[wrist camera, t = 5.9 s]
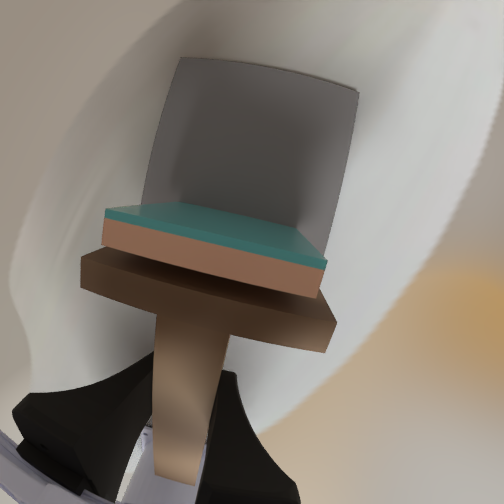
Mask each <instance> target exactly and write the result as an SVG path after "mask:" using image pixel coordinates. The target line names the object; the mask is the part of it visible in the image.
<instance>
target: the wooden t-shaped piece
mask: <svg viewBox="0 0 504 504" xmlns="http://www.w3.org/2000/svg"><path fill="white" fill-rule="evenodd" d="M81 288H83V289H86V290H88V291H91V292H93V293H96V294H99V295H101V296H104V297H107V298H110V299H112V300H115V301H118V302H121V303H124V304H127V305H130V306H133V307H136V308H139V309H142V310H145V311H148V312H151V313H154V314H157V318H156V330H155V344H154V361H153V389H152V430H153V456H154V472H155V475H157V476H160V477H163V478H166V479H169V480H173V481H176V482H180V483H183V484H187V485H191V486H195V483H196V478H197V474H198V470H199V466H200V462H201V458H202V453H203V449H204V445H205V441H206V437H207V433H208V428H209V422H210V418H211V413H212V409H213V405H214V400H215V396H216V392H217V387H218V383H219V379H220V375H221V371H222V368H223V364H224V360H225V356H226V351H227V347H228V343H229V339H230V335H235V336H239V337H243V338H248V339H252V340H257V341H261V342H266V343H271V344H276V345H281V346H286V347H292V348H297V349H303V350H309V351H315V352H321V353H325V352H326V349H327V347H328V344H329V342H330V340H331V337H332V335H333V332H334V330H335V327H336V325H337V321H336V319H335V317H334V315H333V314H332V312H331V310H330V308H329V306H328V304H327V302H326V300H325V298H324V296H323V294H322V292H321V290H320V289H319V291H318V294H317V297H316V299H315V298H310V297H306V296H301V295H297V294H292V293H287V292H283V291H279V290H274V289H270V288H265V287H261V286H257V285H253V284H248V283H244V282H240V281H236V280H232V279H228V278H223V277H219V276H215V275H211V274H207V273H203V272H199V271H196V270H192V269H188V268H184V267H180V266H176V265H172V264H169V263H165V262H161V261H157V260H154V259H150V258H146V257H143V256H139V255H135V254H132V253H128V252H125V251H121V250H118V249H114V248H111V247H107V246H106V247H104V248H101V249H99V250H96V251H94V252H91V253H89V254H86V255H84V256H82V257H81Z"/></svg>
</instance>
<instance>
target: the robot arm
mask: <svg viewBox="0 0 504 504" xmlns="http://www.w3.org/2000/svg"><path fill="white" fill-rule="evenodd" d="M153 361H154V351H153V352H152V353H150V354H149V355H147V356H146V357H144V358H143V359H141V360H139V361H138V362H136V363H135V364H133V365H131V366H130V367H128V368H126V369H125V370H123V371H121V372H119V373H117V374H115V375H113V376H111V377H109V378H107V379H104V380H102V381H100V382H97V383H94V384H91V385H88V386H84V387H80V388H76V389H72V390H66V391H59V392H48V393H29V394H28V395H27V396H26V397H25V398H24V399H23V400H22V401H21V402H20V403H19V404H18V405H17V406H16V407H15V408H14V409H13V410H12V415H13V419H14V421H15V423H16V425H17V426H18V428H19V430H20V432H21V434H22V436H23V438H24V440H23V441H22V442H21V443H20V444H19V445H17V444H16V443H15V442H14V441H13V440H11V439H10V438H9V437H8V436H7V435H6V434H4V433H3V432H2V431H1V430H0V488H2V489H3V490H4V491H5V492H6V493H7V494H8V495H9V496H11V497H12V498H13V499H14V500H15V501H17V502H18V503H19V504H301V501H300V496H299V492H298V489H297V486H296V483H295V482H294V481H293V480H292V479H290V478H289V477H288V476H287V475H286V474H285V473H284V472H283V471H282V470H281V469H280V467H279V466H278V465H277V464H276V463H275V462H274V461H273V459H272V458H271V457H270V456H269V454H268V453H267V451H266V450H265V449H264V447H263V446H262V444H261V443H260V441H259V439H258V438H257V436H256V434H255V433H254V431H253V429H252V427H251V425H250V423H249V420H248V418H247V416H246V413H245V410H244V408H243V405H242V401H241V398H240V394H239V390H238V385H237V375H236V374H235V373H234V372H230V371H225V370H222V371H221V375H220V379H219V383H218V387H217V392H216V396H215V400H214V405H213V409H212V413H211V418H210V422H209V429H208V437H207V444H205V445H204V449H203V453H202V458H201V462H200V466H199V470H198V474H197V478H196V483H195V486H191V485H187V484H183V483H180V482H176V481H173V480H169V479H166V478H163V477H160V476H157V475H155V472H154V456H153V430H152V428H150V427H147V426H145V425H146V423H147V422H148V420H149V418H150V416H151V415H152V389H153ZM140 434H141V441H142V452H143V453H142V455H141V458H140V460H139V462H138V464H137V467H136V469H135V471H134V473H133V476H132V478H131V480H130V483H129V485H128V487H127V489H126V492H125V494H124V497H123V499H122V501H121V502H119V501H116V498H117V494H118V491H119V487H120V484H121V482H122V479H123V476H124V473H125V470H126V467H127V464H128V462H129V459H130V456H131V454H132V451H133V449H134V446H135V444H136V442H137V440H138V438H139V436H140ZM115 501H116V503H115Z"/></svg>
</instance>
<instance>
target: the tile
mask: <svg viewBox="0 0 504 504" xmlns="http://www.w3.org/2000/svg"><path fill="white" fill-rule="evenodd" d="M101 245H104V246H107V247H111V248H114V249H118V250H121V251H125V252H128V253H132V254H135V255H139V256H143V257H146V258H150V259H154V260H157V261H161V262H165V263H169V264H172V265H176V266H180V267H184V268H188V269H192V270H196V271H199V272H203V273H207V274H211V275H215V276H219V277H223V278H228V279H232V280H236V281H240V282H244V283H248V284H253V285H257V286H261V287H265V288H270V289H274V290H279V291H283V292H287V293H292V294H297V295H301V296H306V297H310V298H315V299H316V297H317V294H318V291H319V287H320V284H321V281H322V278H323V274H324V271H325V268H326V264H327V261H328V260H327V259H326V258H325V257H324V256H323V255H322V254H321V253H320V252H319V251H318V250H317V249H316V248H315V247H314V246H313V245H312V244H311V243H310V242H309V241H308V240H307V239H306V238H305V237H304V236H303V235H302V234H301V233H300V232H299V231H298V230H297V229H296V228H293V227H289V226H285V225H281V224H277V223H273V222H269V221H264V220H260V219H256V218H252V217H248V216H243V215H239V214H235V213H230V212H226V211H221V210H217V209H212V208H208V207H203V206H199V205H194V204H189V203H185V202H180V201H178V202H166V203H154V204H143V205H133V206H124V207H115V208H106V210H105V217H104V225H103V234H102V244H101Z"/></svg>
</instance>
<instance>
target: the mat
mask: <svg viewBox="0 0 504 504" xmlns="http://www.w3.org/2000/svg"><path fill="white" fill-rule="evenodd" d="M358 98H359V92H357V91H354V90H351V89H348V88H346V87H343V86H339V85H336V84H333V83H330V82H327V81H323V80H320V79H316V78H313V77H309V76H305V75H301V74H297V73H293V72H289V71H284V70H280V69H275V68H270V67H265V66H259V65H253V64H247V63H240V62H232V61H224V60H214V59H202V58H185V57H181V59H180V61H179V64H178V67H177V69H176V72H175V75H174V78H173V81H172V84H171V87H170V90H169V93H168V96H167V99H166V102H165V105H164V109H163V112H162V115H161V119H160V122H159V126H158V130H157V133H156V137H155V141H154V145H153V149H152V153H151V157H150V162H149V166H148V171H147V175H146V180H145V185H144V190H143V195H142V201H141V205H143V204H154V203H166V202H178V201H180V202H185V203H189V204H194V205H199V206H203V207H208V208H212V209H217V210H221V211H226V212H230V213H235V214H239V215H243V216H248V217H252V218H256V219H260V220H264V221H269V222H273V223H277V224H281V225H285V226H289V227H293V228H296V229H297V230H298V231H299V232H300V233H301V234H302V235H303V236H304V237H305V238H306V239H307V240H308V241H309V242H310V243H311V244H312V245H313V246H314V247H315V248H316V249H317V250H318V251H319V252H320V253H321V254H322V255H323V256H324V252H325V249H326V245H327V242H328V238H329V234H330V230H331V227H332V223H333V219H334V215H335V211H336V207H337V203H338V199H339V195H340V190H341V186H342V182H343V177H344V173H345V168H346V163H347V159H348V154H349V149H350V144H351V139H352V133H353V128H354V122H355V117H356V111H357V105H358Z"/></svg>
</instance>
